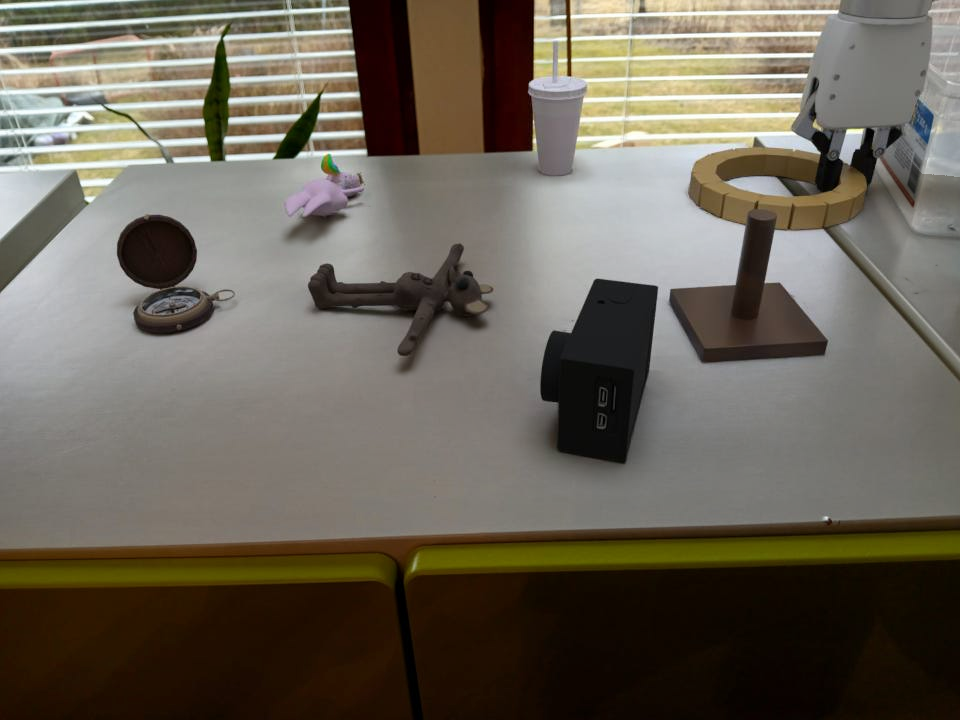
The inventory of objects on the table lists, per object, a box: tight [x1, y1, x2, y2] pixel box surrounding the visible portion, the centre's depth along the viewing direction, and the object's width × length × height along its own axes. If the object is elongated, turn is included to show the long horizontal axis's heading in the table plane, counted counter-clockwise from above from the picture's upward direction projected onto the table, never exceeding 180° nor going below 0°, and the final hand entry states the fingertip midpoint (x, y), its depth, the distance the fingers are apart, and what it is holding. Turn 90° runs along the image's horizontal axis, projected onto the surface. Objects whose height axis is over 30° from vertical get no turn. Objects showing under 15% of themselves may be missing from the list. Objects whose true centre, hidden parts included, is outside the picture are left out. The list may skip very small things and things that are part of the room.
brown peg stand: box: [668, 209, 829, 363], centre depth 58 cm, size 9×9×9 cm
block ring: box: [688, 146, 868, 231], centre depth 81 cm, size 17×17×2 cm
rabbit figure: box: [284, 153, 366, 218], centre depth 80 cm, size 6×6×15 cm
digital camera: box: [539, 278, 659, 464], centre depth 51 cm, size 10×5×7 cm, turn 162°
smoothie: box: [527, 40, 588, 177], centre depth 87 cm, size 6×6×14 cm
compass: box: [116, 213, 236, 334], centre depth 64 cm, size 8×8×7 cm
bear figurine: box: [307, 242, 494, 357], centre depth 64 cm, size 18×4×14 cm
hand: (840, 190), depth 82 cm, fingers closed on block ring, 2 cm apart
